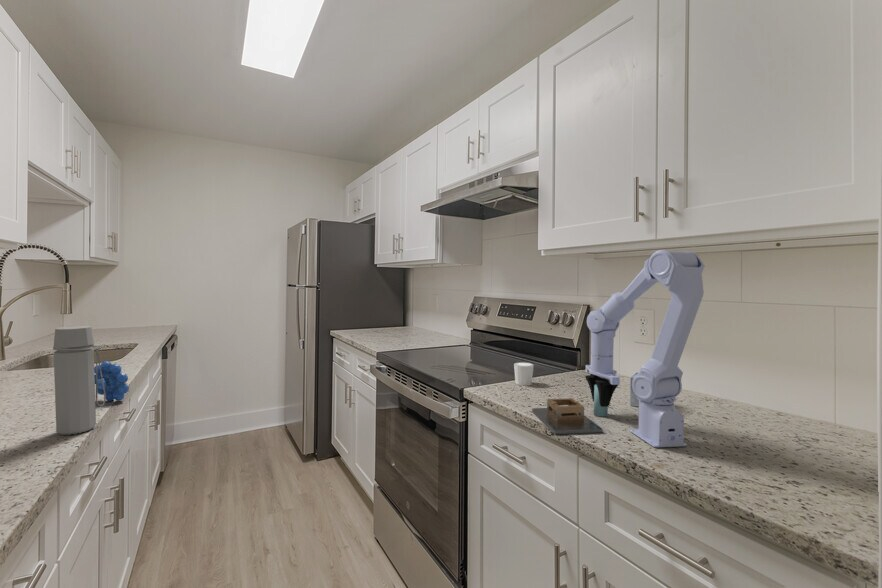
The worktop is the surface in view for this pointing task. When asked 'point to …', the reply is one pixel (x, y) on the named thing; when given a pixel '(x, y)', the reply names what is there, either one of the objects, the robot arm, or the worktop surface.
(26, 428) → the worktop surface
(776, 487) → the worktop surface
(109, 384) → the grapes
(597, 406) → the teal cylinder
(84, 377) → the water bottle
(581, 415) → the wooden crate on slab
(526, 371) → the white cup
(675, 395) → the robot arm
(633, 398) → the medicine box
